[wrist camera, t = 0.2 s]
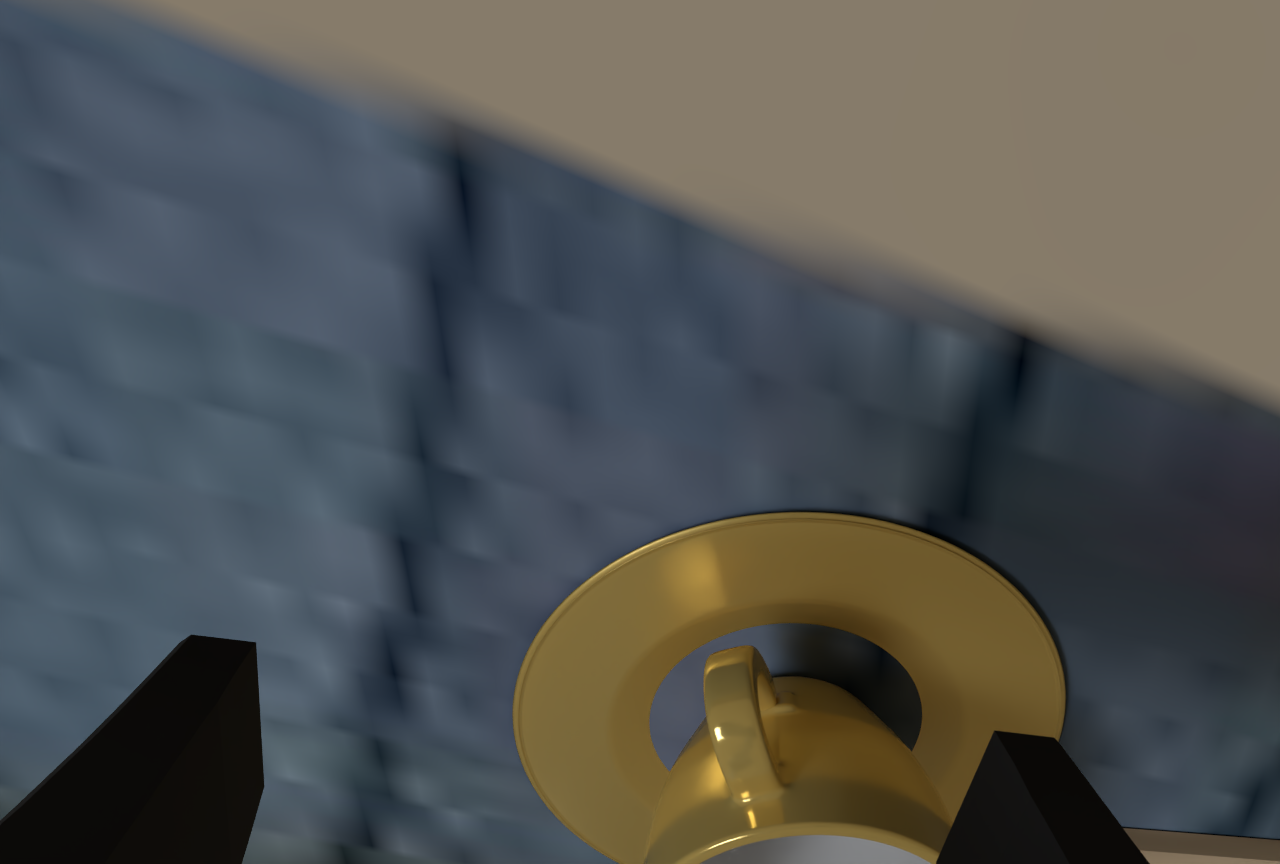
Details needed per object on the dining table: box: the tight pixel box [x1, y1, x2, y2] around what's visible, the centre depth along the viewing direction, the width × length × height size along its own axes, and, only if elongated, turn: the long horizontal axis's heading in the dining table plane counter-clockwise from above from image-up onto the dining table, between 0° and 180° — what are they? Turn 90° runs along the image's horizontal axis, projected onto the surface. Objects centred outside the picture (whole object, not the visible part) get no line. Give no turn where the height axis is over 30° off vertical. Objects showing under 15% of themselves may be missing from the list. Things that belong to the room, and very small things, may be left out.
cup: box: [513, 512, 1066, 864], centre depth 23 cm, size 12×12×5 cm
